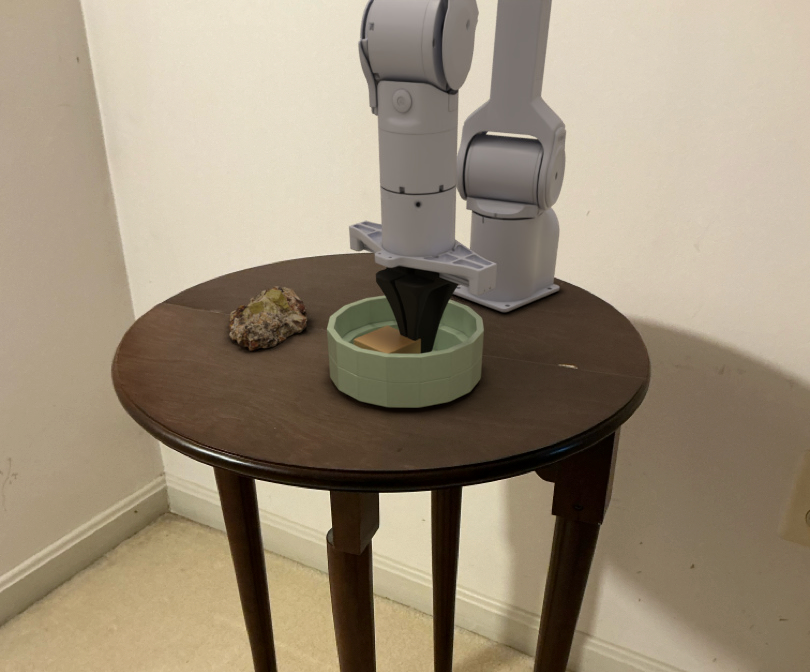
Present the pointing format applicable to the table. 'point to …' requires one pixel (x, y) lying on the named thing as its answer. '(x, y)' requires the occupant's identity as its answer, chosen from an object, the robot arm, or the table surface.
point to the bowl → (404, 357)
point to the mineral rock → (268, 319)
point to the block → (388, 342)
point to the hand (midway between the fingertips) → (419, 351)
